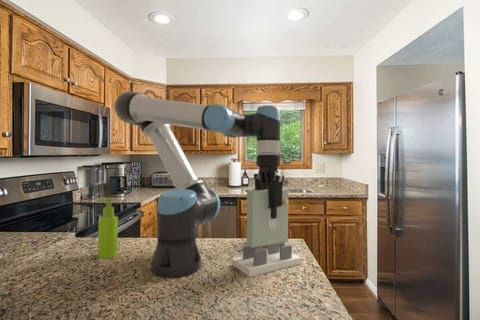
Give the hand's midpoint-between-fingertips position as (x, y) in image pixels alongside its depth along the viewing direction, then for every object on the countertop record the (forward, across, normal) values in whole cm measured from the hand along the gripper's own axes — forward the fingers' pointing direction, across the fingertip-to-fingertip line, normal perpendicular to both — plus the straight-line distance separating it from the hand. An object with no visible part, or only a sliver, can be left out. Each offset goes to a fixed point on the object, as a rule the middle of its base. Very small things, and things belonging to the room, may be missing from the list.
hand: (267, 227), depth 85 cm
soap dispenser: (+12, +33, +44) cm, 56 cm away
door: (+5, 0, 0) cm, 5 cm away
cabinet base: (+12, 0, 0) cm, 12 cm away
